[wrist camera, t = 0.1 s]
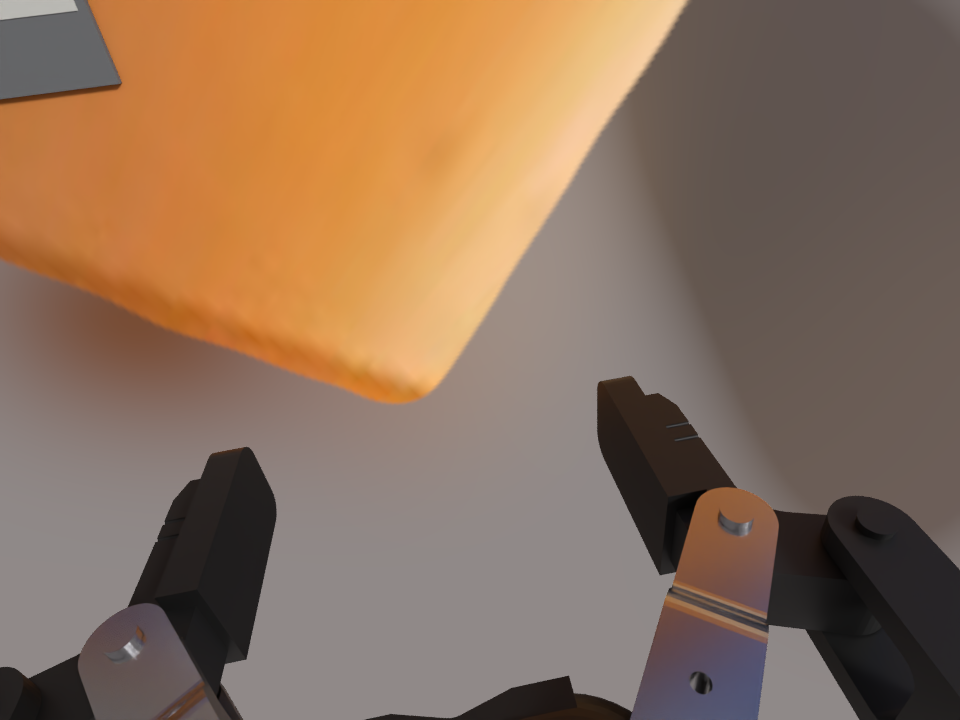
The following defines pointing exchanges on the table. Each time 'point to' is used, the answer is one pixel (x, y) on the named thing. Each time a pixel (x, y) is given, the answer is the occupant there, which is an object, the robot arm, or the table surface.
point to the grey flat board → (51, 48)
